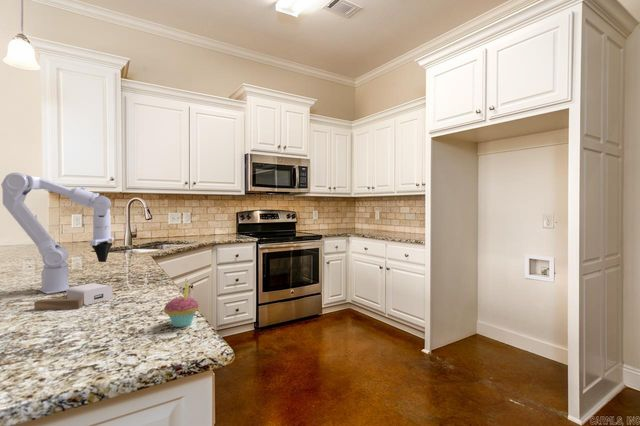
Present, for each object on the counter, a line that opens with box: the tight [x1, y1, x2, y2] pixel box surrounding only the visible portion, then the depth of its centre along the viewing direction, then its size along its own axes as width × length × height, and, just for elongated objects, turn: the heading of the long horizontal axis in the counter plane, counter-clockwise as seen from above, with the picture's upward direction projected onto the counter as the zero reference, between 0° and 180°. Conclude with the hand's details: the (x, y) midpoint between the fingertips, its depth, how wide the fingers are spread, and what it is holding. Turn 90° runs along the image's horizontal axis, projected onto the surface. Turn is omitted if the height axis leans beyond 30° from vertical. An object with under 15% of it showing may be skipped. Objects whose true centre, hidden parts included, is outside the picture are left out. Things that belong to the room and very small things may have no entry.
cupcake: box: [163, 280, 200, 328], centre depth 90 cm, size 9×8×12 cm
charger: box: [65, 282, 113, 306], centre depth 113 cm, size 5×9×15 cm
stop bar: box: [33, 298, 84, 311], centre depth 103 cm, size 2×12×2 cm, turn 99°
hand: (102, 261), depth 130 cm, fingers closed
